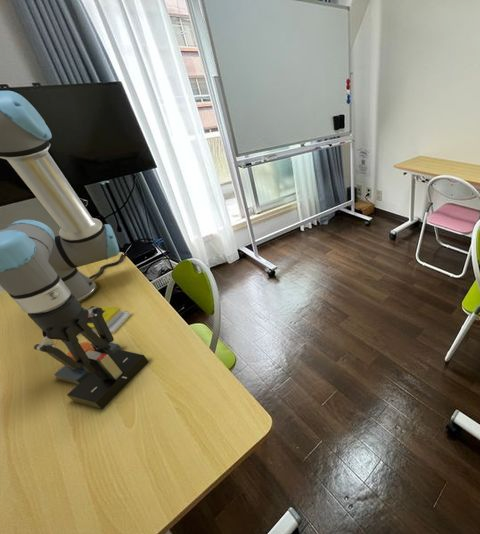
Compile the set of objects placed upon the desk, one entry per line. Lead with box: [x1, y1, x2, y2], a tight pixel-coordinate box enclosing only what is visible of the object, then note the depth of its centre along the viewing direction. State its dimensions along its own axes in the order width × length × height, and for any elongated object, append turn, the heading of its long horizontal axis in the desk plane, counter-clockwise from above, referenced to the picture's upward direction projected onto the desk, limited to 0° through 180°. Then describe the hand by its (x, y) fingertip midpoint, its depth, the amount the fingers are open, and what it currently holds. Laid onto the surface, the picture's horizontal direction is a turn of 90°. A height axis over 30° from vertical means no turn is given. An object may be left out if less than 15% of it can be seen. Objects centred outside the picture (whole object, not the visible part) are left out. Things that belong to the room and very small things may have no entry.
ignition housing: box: [53, 342, 123, 385], centre depth 81 cm, size 12×8×4 cm, turn 166°
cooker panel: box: [66, 350, 149, 410], centre depth 76 cm, size 14×11×3 cm
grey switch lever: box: [86, 350, 123, 380], centre depth 73 cm, size 6×2×8 cm, turn 75°
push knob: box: [67, 341, 95, 361], centre depth 79 cm, size 5×5×3 cm
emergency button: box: [78, 306, 131, 336], centre depth 93 cm, size 9×4×15 cm
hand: (108, 372), depth 74 cm, fingers closed on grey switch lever, 2 cm apart
